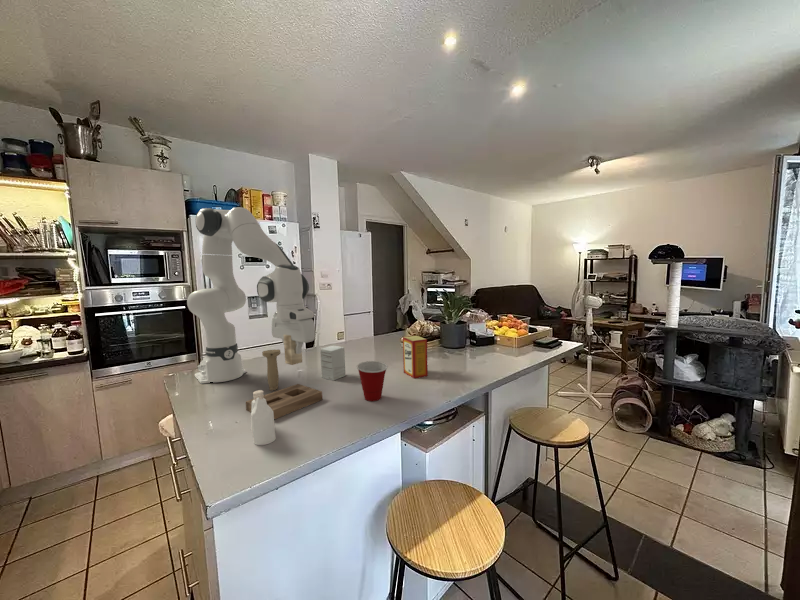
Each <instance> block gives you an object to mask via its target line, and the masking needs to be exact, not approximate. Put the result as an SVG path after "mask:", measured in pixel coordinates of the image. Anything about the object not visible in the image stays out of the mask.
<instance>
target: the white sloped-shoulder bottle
mask: <svg viewBox="0 0 800 600" xmlns="http://www.w3.org/2000/svg"><path fill="white" fill-rule="evenodd" d="M251 423H252V431H251V434H252V439H253V440H252V441H253V444H254V445H255V446H265V445H269V444H271V443H273V442H274V441H275V440H276V427H275V420H274V413H273V410H272V409H271V408H270V407H269V406H268V405H267V403H265V402H264V401H262V400H261V399H259V398H257V399H256V404H255V407H254V409H253V410H252V413H251V412H250V424H251Z"/></svg>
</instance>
